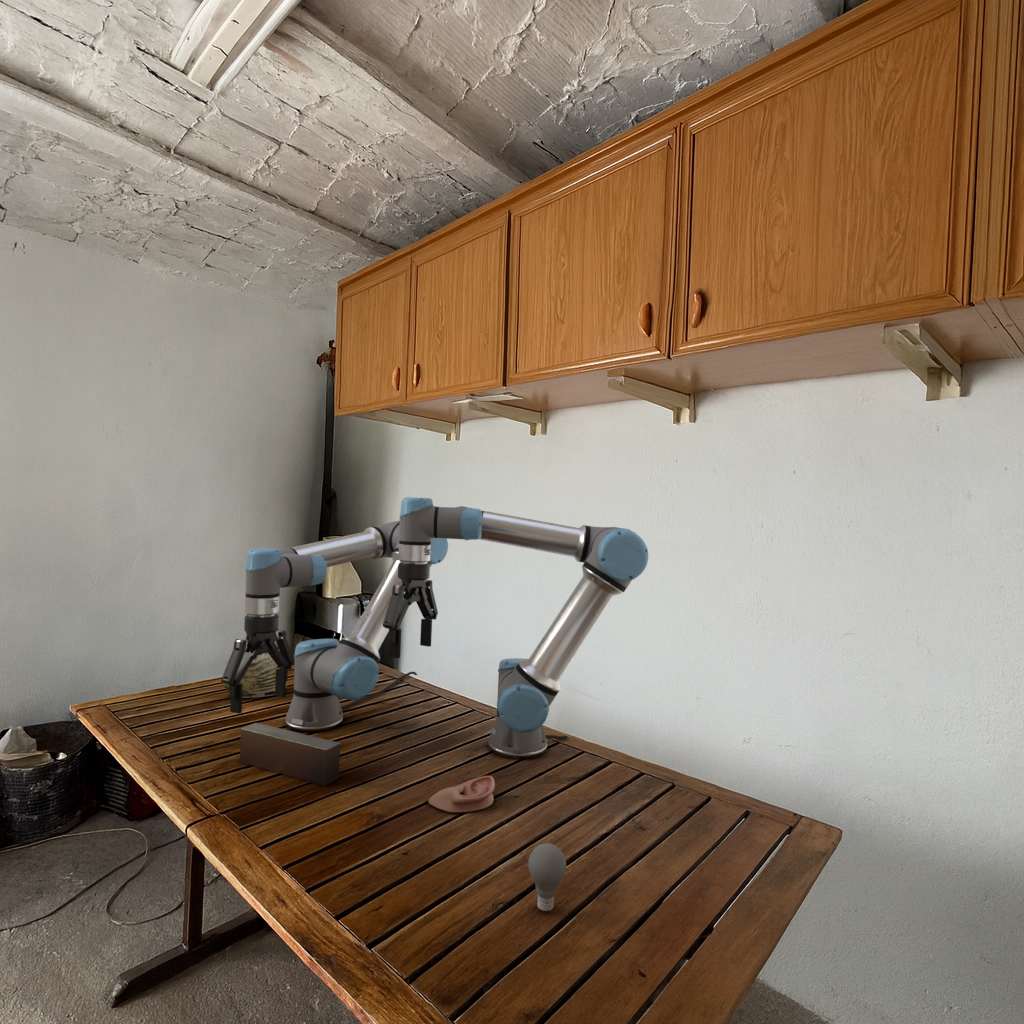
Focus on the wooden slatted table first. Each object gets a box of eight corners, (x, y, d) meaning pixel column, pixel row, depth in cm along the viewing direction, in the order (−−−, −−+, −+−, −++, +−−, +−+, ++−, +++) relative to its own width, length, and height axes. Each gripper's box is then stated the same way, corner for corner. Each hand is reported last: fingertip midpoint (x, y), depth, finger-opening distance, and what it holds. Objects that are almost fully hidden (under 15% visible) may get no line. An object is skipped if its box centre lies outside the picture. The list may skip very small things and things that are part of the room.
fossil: (218, 695, 195) (220, 647, 195) (278, 685, 208) (279, 640, 207) (228, 703, 189) (230, 653, 188) (289, 692, 201) (290, 645, 201)
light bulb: (524, 896, 103) (527, 835, 103) (560, 896, 103) (563, 835, 103) (528, 921, 97) (531, 856, 97) (567, 920, 97) (570, 856, 97)
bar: (239, 762, 149) (240, 728, 149) (254, 755, 153) (255, 722, 153) (325, 786, 139) (326, 749, 139) (338, 778, 143) (340, 742, 143)
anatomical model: (423, 789, 130) (441, 766, 141) (423, 808, 130) (440, 784, 141) (486, 798, 127) (499, 774, 139) (485, 817, 128) (498, 792, 139)
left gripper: (230, 625, 136) (227, 723, 136) (311, 608, 159) (308, 692, 159) (205, 621, 139) (202, 716, 139) (288, 605, 162) (285, 687, 162)
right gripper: (397, 567, 137) (393, 665, 138) (453, 559, 160) (450, 643, 161) (369, 565, 140) (365, 660, 141) (428, 557, 163) (424, 639, 164)
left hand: (259, 704), depth 149 cm, fingers open, 13 cm apart
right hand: (410, 651), depth 151 cm, fingers open, 13 cm apart
